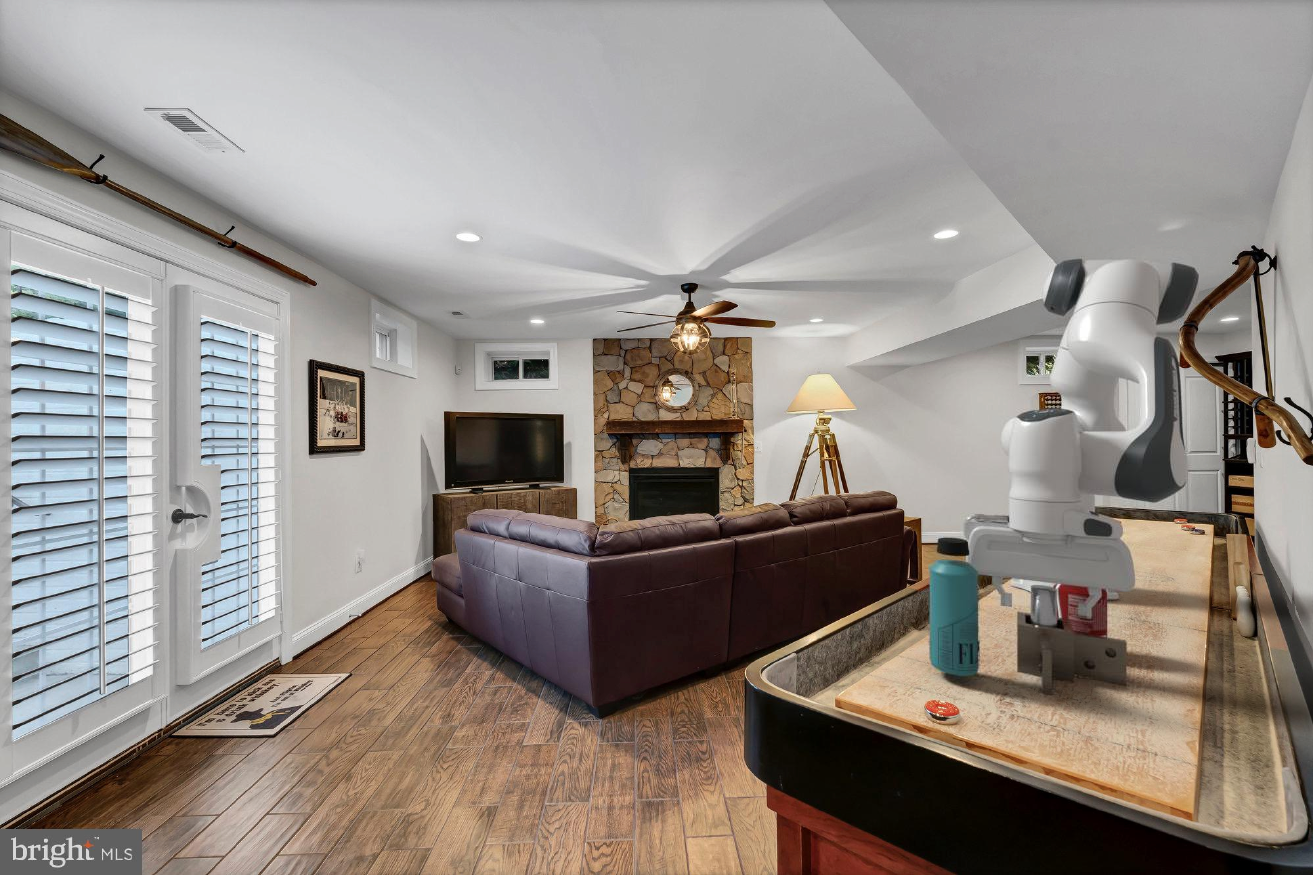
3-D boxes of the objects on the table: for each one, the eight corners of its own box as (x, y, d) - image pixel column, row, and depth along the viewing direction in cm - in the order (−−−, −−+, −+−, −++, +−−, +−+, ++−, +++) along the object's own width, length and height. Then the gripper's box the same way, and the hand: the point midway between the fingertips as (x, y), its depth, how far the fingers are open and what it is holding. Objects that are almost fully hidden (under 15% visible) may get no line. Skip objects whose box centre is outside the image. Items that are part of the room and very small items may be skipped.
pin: (1031, 669, 80) (1031, 588, 80) (1030, 661, 83) (1030, 583, 83) (1057, 674, 78) (1057, 592, 78) (1056, 666, 81) (1056, 586, 81)
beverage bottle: (958, 690, 74) (958, 545, 74) (917, 671, 80) (917, 536, 80) (990, 681, 77) (990, 540, 76) (948, 663, 83) (948, 532, 82)
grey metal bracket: (1017, 655, 85) (1017, 611, 85) (1122, 675, 78) (1122, 627, 78) (1017, 687, 75) (1017, 637, 74) (1138, 713, 68) (1138, 657, 68)
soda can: (1117, 662, 82) (1117, 584, 82) (1067, 659, 84) (1067, 582, 83) (1091, 645, 89) (1091, 572, 89) (1045, 642, 90) (1045, 571, 90)
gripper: (962, 515, 83) (962, 604, 84) (1137, 527, 72) (1137, 630, 72) (965, 510, 89) (965, 594, 89) (1129, 520, 77) (1129, 617, 77)
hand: (1044, 611), depth 80 cm, fingers open, 8 cm apart
